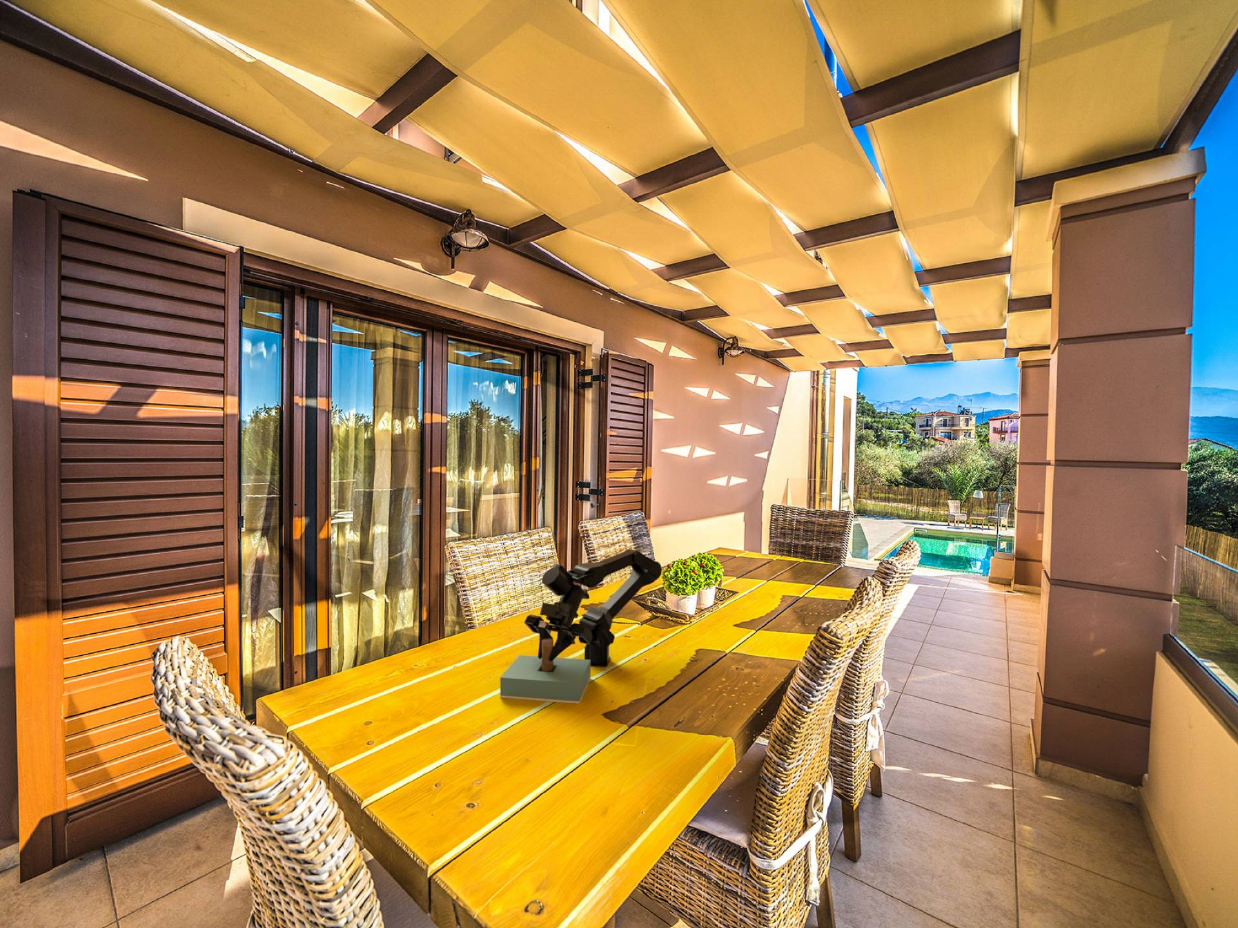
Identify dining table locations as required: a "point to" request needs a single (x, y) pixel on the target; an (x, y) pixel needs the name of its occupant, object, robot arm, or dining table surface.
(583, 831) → the dining table surface
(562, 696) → the board
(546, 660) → the pin
